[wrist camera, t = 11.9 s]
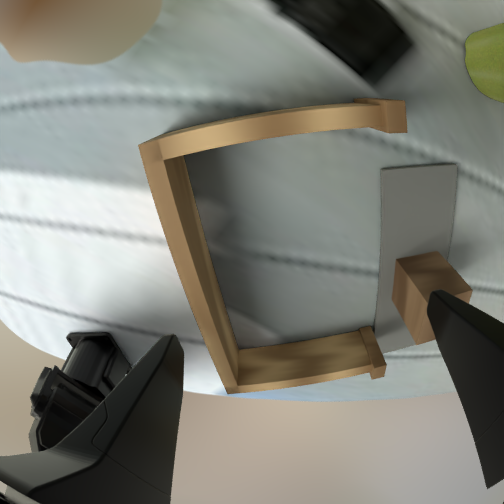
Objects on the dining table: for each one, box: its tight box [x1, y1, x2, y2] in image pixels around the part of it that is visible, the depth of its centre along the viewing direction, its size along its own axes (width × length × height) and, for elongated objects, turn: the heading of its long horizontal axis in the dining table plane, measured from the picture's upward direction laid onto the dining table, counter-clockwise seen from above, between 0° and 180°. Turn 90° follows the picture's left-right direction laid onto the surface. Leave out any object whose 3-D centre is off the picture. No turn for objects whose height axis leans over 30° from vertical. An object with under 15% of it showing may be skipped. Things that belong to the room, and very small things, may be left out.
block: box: [392, 251, 473, 345], centre depth 21 cm, size 4×4×6 cm
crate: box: [138, 98, 407, 394], centre depth 21 cm, size 14×23×5 cm, turn 10°
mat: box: [373, 164, 457, 354], centre depth 24 cm, size 7×20×1 cm, turn 10°
